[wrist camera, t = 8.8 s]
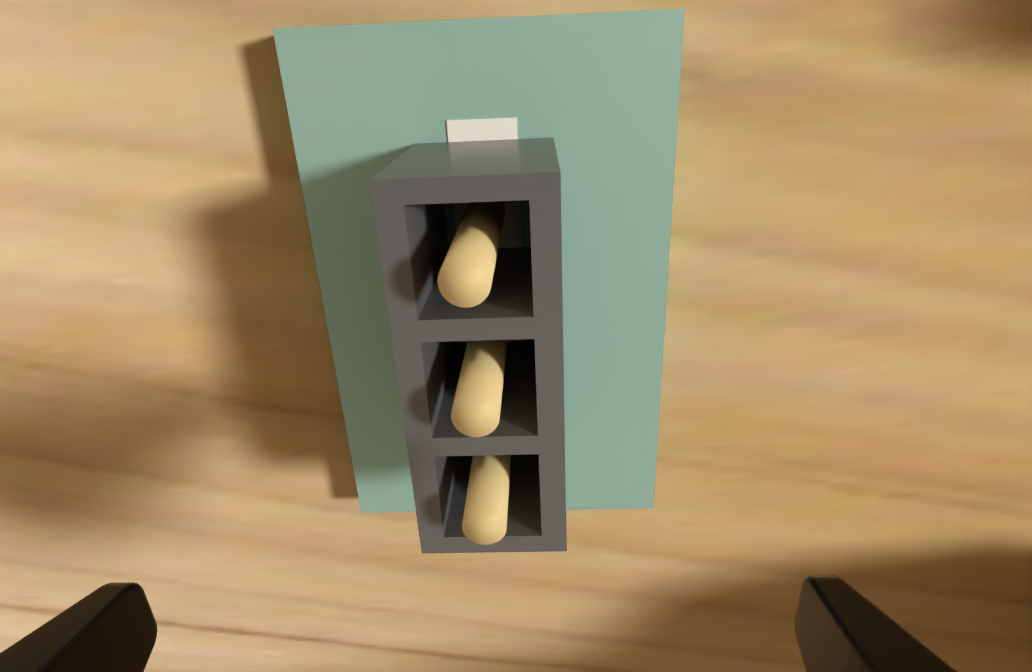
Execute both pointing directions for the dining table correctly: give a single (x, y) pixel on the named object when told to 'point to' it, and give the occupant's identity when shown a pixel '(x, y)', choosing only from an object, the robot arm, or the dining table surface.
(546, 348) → the plug housing
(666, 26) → the header board
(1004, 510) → the dining table surface
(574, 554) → the dining table surface
